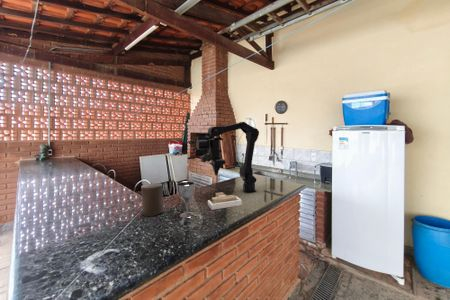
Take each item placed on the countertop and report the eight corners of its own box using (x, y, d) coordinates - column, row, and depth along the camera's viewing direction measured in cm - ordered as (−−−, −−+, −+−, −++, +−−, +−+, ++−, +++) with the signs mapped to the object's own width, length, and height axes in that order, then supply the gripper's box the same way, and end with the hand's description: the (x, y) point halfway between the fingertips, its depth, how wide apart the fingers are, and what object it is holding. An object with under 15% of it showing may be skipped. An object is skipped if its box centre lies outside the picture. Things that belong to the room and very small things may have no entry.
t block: (208, 201, 115) (208, 194, 115) (229, 198, 119) (229, 191, 118) (214, 207, 105) (213, 200, 104) (236, 204, 108) (236, 196, 108)
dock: (236, 200, 114) (236, 196, 114) (241, 204, 107) (241, 200, 107) (208, 204, 109) (207, 200, 109) (211, 209, 102) (211, 204, 102)
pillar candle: (157, 217, 96) (155, 185, 95) (138, 216, 98) (136, 184, 97) (167, 209, 105) (165, 180, 104) (149, 208, 107) (148, 180, 106)
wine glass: (175, 216, 95) (173, 184, 94) (186, 210, 102) (184, 180, 101) (189, 219, 91) (187, 186, 90) (199, 213, 98) (197, 182, 97)
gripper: (197, 148, 126) (199, 173, 127) (204, 150, 108) (206, 180, 110) (215, 147, 130) (216, 171, 131) (225, 149, 112) (226, 177, 113)
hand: (216, 175), depth 121 cm, fingers closed
